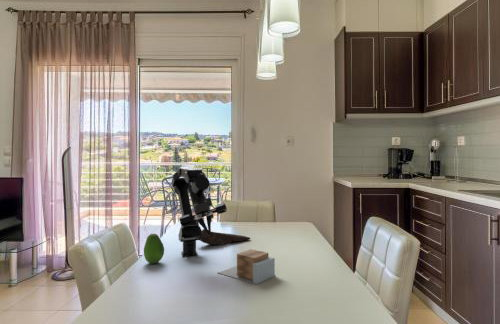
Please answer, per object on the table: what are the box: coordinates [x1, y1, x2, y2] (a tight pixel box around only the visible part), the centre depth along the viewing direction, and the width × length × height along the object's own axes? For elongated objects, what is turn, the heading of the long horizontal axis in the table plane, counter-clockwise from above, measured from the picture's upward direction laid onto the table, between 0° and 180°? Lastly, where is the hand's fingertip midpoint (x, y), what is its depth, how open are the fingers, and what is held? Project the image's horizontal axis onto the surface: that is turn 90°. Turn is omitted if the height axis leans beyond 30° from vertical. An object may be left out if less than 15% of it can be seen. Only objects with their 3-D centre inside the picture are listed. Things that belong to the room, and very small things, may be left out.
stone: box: [199, 228, 251, 246], centre depth 174 cm, size 28×6×10 cm, turn 119°
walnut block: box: [236, 249, 269, 280], centre depth 126 cm, size 8×8×8 cm
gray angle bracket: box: [218, 256, 276, 285], centre depth 128 cm, size 18×11×6 cm, turn 51°
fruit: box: [143, 233, 165, 265], centre depth 142 cm, size 8×8×12 cm
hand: (209, 235), depth 138 cm, fingers closed
